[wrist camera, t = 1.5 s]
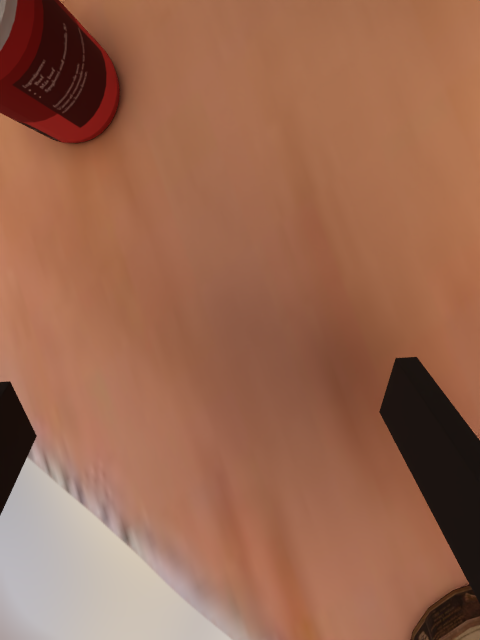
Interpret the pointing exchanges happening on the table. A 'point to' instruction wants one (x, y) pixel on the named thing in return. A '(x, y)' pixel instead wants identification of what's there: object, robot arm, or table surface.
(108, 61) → the canned food
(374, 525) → the table surface
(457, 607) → the wood slice
